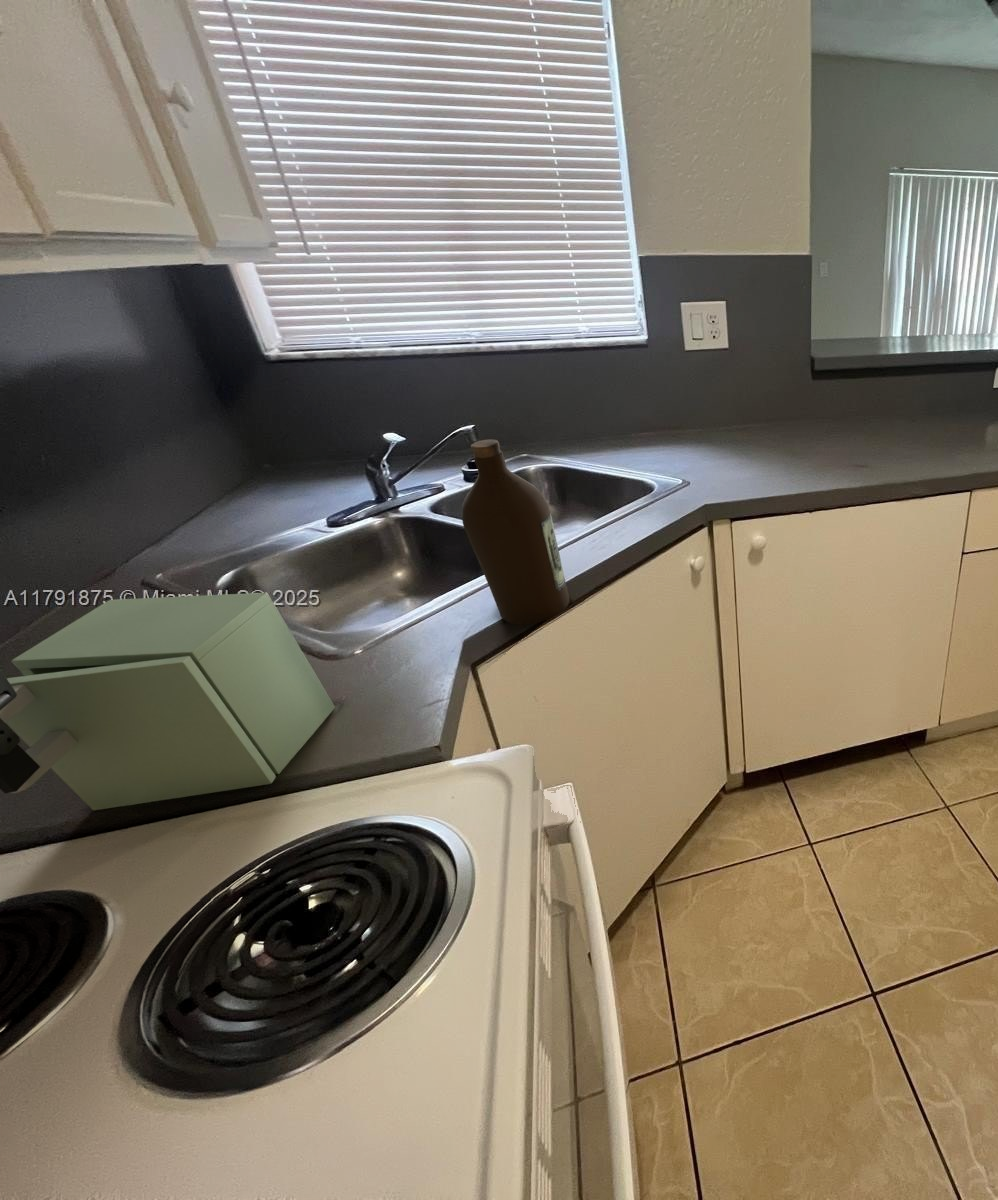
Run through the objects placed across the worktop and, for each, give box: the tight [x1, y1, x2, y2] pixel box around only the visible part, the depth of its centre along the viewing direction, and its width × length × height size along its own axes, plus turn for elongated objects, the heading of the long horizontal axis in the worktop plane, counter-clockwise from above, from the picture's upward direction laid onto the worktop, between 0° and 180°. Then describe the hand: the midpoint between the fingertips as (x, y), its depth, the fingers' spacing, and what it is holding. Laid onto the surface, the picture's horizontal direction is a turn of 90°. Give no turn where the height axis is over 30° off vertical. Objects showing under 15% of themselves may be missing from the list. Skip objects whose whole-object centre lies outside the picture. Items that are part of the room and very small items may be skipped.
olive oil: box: [461, 439, 570, 626], centre depth 84 cm, size 11×11×25 cm
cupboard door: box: [0, 656, 277, 811], centre depth 56 cm, size 7×16×17 cm, turn 101°
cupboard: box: [10, 592, 336, 775], centre depth 65 cm, size 10×16×17 cm, turn 92°
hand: (5, 782), depth 52 cm, fingers closed on cupboard door, 2 cm apart
